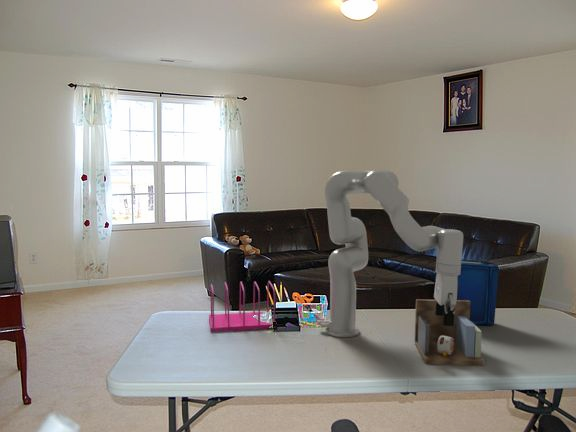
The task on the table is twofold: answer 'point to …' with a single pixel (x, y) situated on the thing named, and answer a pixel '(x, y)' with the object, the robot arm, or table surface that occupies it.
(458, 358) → the shelf
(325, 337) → the table surface
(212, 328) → the file sorter
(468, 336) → the standing books
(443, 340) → the roller toy
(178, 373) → the table surface
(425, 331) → the bookend
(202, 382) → the table surface
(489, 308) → the book
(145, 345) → the table surface
